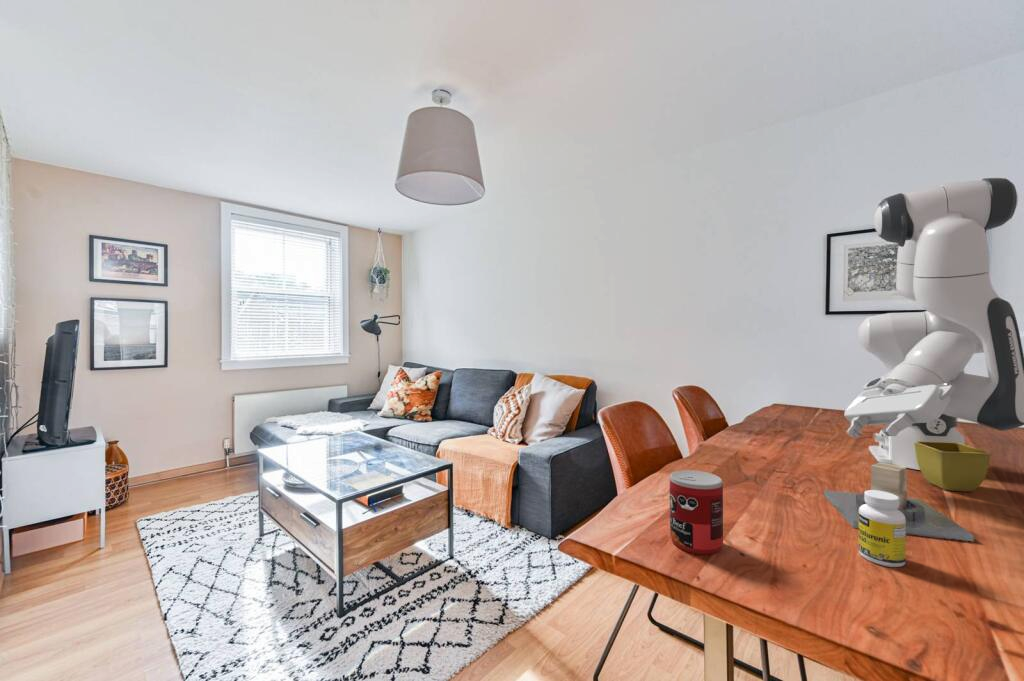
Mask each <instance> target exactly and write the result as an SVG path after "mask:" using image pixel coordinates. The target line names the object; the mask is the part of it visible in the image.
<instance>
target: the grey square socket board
mask: <svg viewBox="0 0 1024 681" xmlns="http://www.w3.org/2000/svg"><path fill="white" fill-rule="evenodd" d="M864 493H865V492H862V493H860V492H850V491H839V490H829V489H823V496H824V498H825V499H826V500H827V501H828V502H829V503H830V504H831V505H832V506H833V507H834V508H835V510H837V511H838V513H839V514H840V515H841V516H842V517H843V518H844V519H845V520H846V521H847V523H849V525H850V526H851V527H852V528H853V529H859V508H860V506H861V505H863V504H867V503H866V502H865V499H864ZM897 510H899V511H901V512H902V513H903V514H904V516H905V519H906V535H911V536H919V537H927V538H928V537H929V538H936V539H943V540H944V538H945V539H946V540H951V539H955V540H954V541H959V540H961V541H960V542H968V541H971V542H970V543H974V541H975V538H974V534H973V533H972V532H970V531H969V530H967V529H966V528H964V527H963V526H961V525H960V524H958V523H957V522H955V521H954V520H953V519H951V518H950V517H948V516H947V515H945V514H943V513H942V512H941V511H939V510H937V509H936V508H935V507H933V506H932V505H930V504H928V502H926V501H925V500H923V499H921V498H913V497H907V509H897Z"/></svg>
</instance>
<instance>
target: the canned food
mask: <svg viewBox="0 0 1024 681" xmlns="http://www.w3.org/2000/svg"><path fill="white" fill-rule="evenodd" d="M723 488H724V485H723V479H722V478H721V477H720V476H718V475H716V474H713V473H710V472H707V471H702V470H693V469H690V470H689V469H687V470H686V469H684V470H683V469H681V470H675V471H673V472H670V474H669V528H670V529H669V530H670V531H669V532H670V533H669V535H670V538H671V542H672V544H673V545H674V546H676V547H677V548H679V549H680V550H683V551H685V552H688V553H691V554H697V555H713V554H717V553H719V552H720V551H722V550H721V549H722V548H723V545H724V489H723Z"/></svg>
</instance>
